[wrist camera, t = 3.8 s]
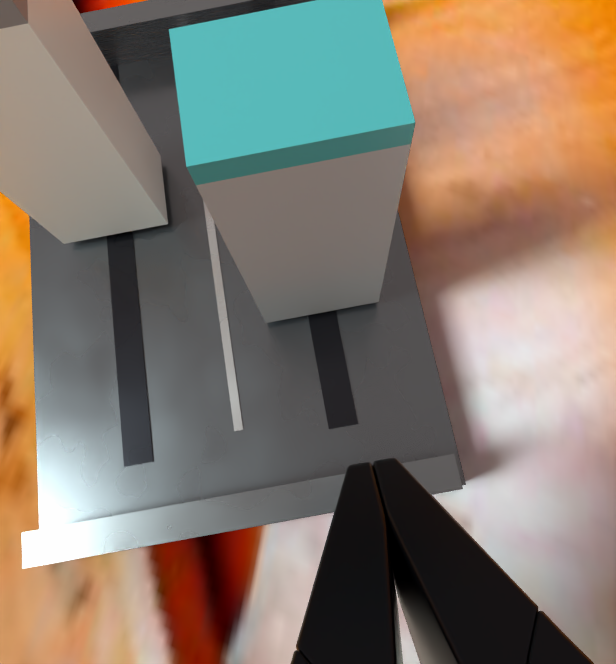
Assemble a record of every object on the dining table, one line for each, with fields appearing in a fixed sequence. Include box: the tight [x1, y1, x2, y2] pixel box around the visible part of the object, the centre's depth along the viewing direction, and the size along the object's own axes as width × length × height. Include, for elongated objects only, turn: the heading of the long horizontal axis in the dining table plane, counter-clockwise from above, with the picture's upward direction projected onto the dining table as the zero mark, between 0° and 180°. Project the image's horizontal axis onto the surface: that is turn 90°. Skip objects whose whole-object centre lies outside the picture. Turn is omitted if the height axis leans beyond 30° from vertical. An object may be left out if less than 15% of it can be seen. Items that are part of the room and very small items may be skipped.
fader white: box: [0, 0, 168, 244], centre depth 15 cm, size 3×4×10 cm
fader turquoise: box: [169, 0, 415, 323], centre depth 14 cm, size 3×4×10 cm
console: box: [22, 0, 466, 569], centre depth 19 cm, size 20×14×3 cm
